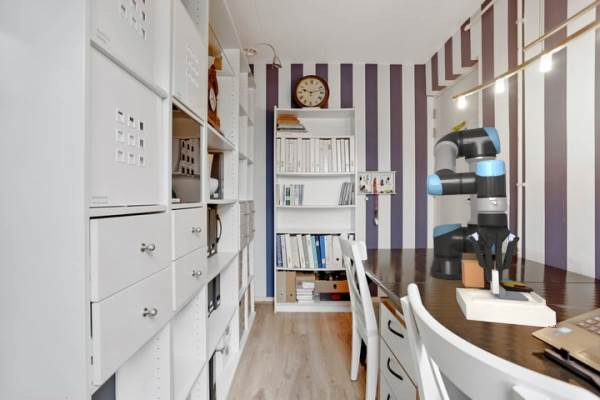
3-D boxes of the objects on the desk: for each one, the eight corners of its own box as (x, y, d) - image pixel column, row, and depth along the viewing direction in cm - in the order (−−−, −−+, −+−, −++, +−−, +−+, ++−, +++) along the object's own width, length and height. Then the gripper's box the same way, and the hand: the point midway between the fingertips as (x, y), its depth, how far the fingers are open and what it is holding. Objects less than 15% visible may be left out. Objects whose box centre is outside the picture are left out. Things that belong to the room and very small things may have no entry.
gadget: (535, 303, 97) (538, 287, 97) (490, 295, 101) (493, 279, 100) (525, 297, 104) (528, 282, 103) (484, 290, 107) (486, 274, 107)
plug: (462, 293, 106) (461, 259, 106) (480, 294, 104) (479, 260, 104) (465, 298, 100) (464, 262, 101) (484, 299, 98) (483, 263, 99)
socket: (456, 300, 98) (455, 283, 99) (528, 305, 92) (527, 287, 92) (466, 319, 81) (466, 298, 82) (556, 328, 75) (555, 305, 75)
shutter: (494, 294, 90) (494, 284, 90) (520, 296, 88) (519, 285, 88) (501, 301, 84) (500, 289, 84) (528, 303, 81) (528, 291, 82)
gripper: (469, 213, 86) (472, 294, 86) (522, 212, 82) (526, 298, 81) (464, 212, 93) (467, 287, 93) (513, 212, 89) (516, 290, 88)
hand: (494, 292), depth 87 cm, fingers closed
